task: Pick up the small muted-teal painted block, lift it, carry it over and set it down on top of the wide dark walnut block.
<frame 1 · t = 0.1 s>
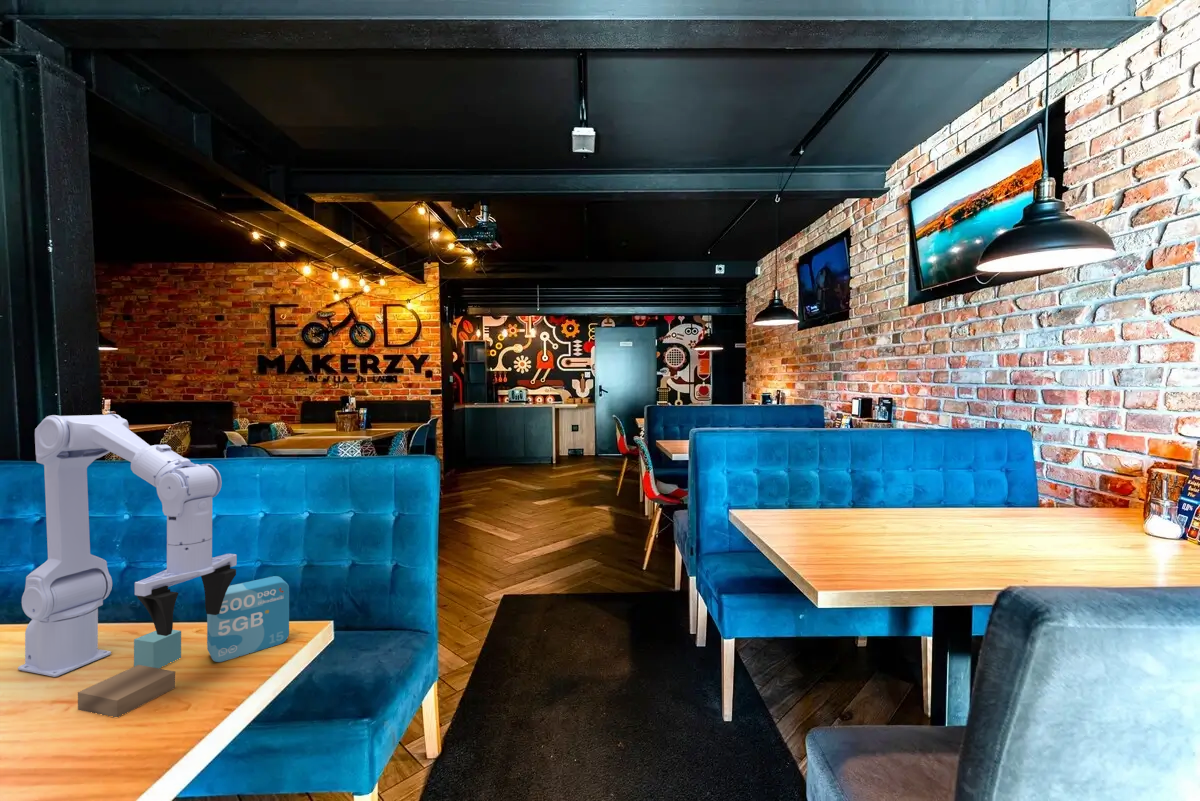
hand: (189, 623, 82), 10 cm above the table, tool pointing down, fingers open, 7 cm apart
teal block: (157, 663, 89), on the table
walnut block: (128, 700, 78), on the table
data package: (249, 650, 94), on the table
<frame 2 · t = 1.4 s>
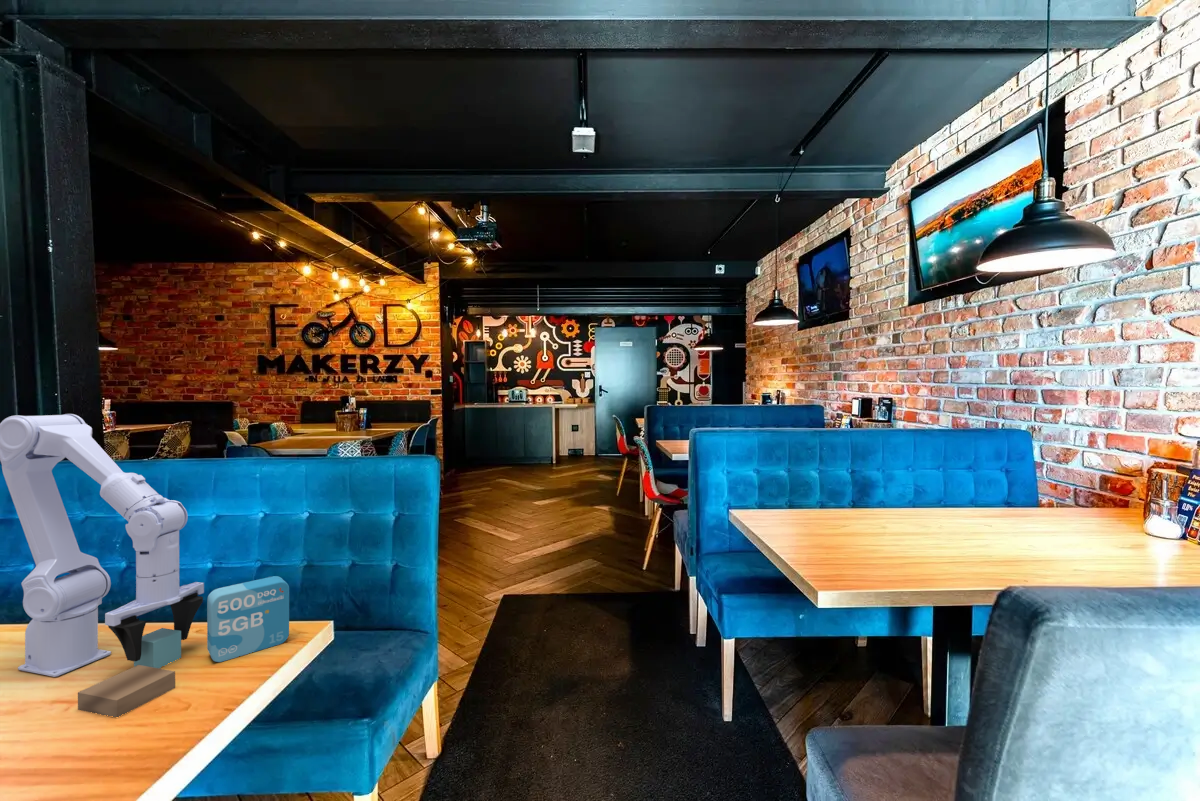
hand: (158, 648, 89), 2 cm above the table, tool pointing down, fingers open, 7 cm apart
nothing on the table moved.
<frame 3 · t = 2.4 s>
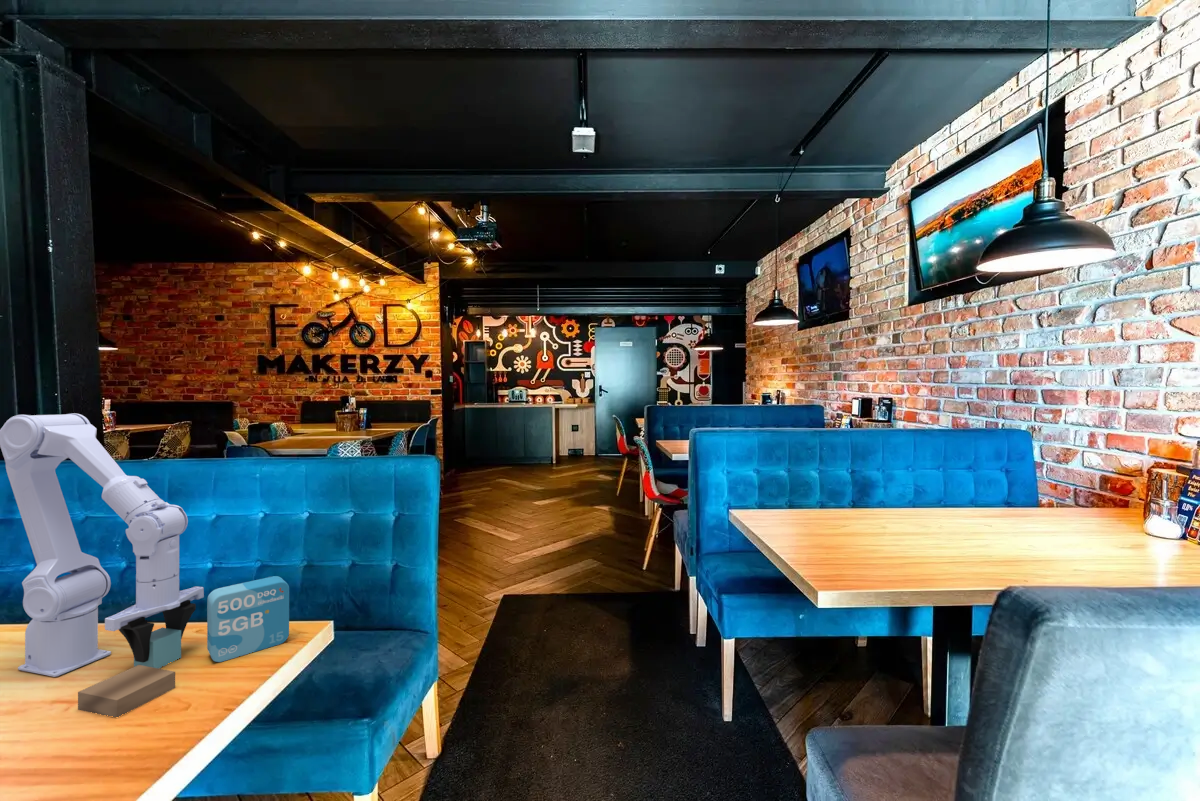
hand: (157, 653, 89), 2 cm above the table, tool pointing down, fingers closed on teal block, 4 cm apart
teal block: (158, 662, 89), on the table, touching gripper
everything else where it was.
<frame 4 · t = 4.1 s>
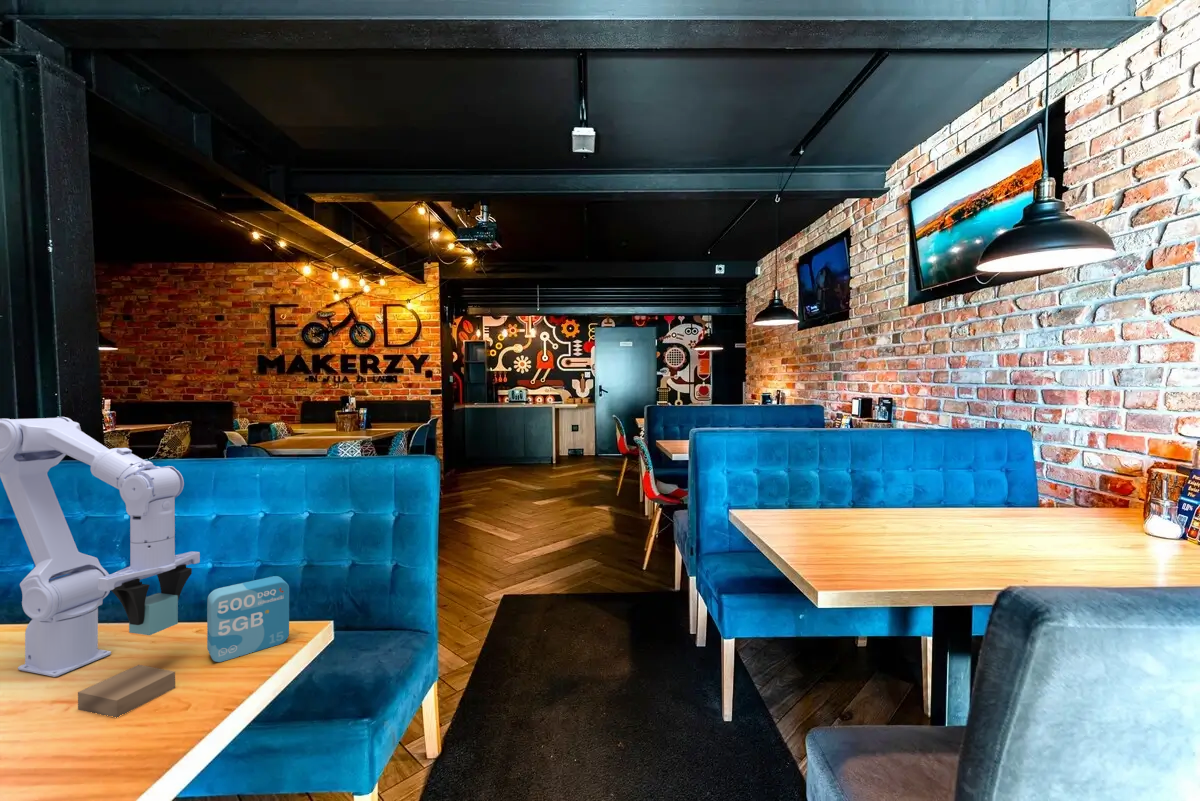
hand: (153, 617, 86), 9 cm above the table, tool pointing down, fingers closed on teal block, 4 cm apart
teal block: (153, 628, 86), point 7 cm above the table, touching gripper
everything else where it was.
when the fingers open (6 cm above the table, at t = 5.6 s): teal block drops 2 cm, resting on walnut block.
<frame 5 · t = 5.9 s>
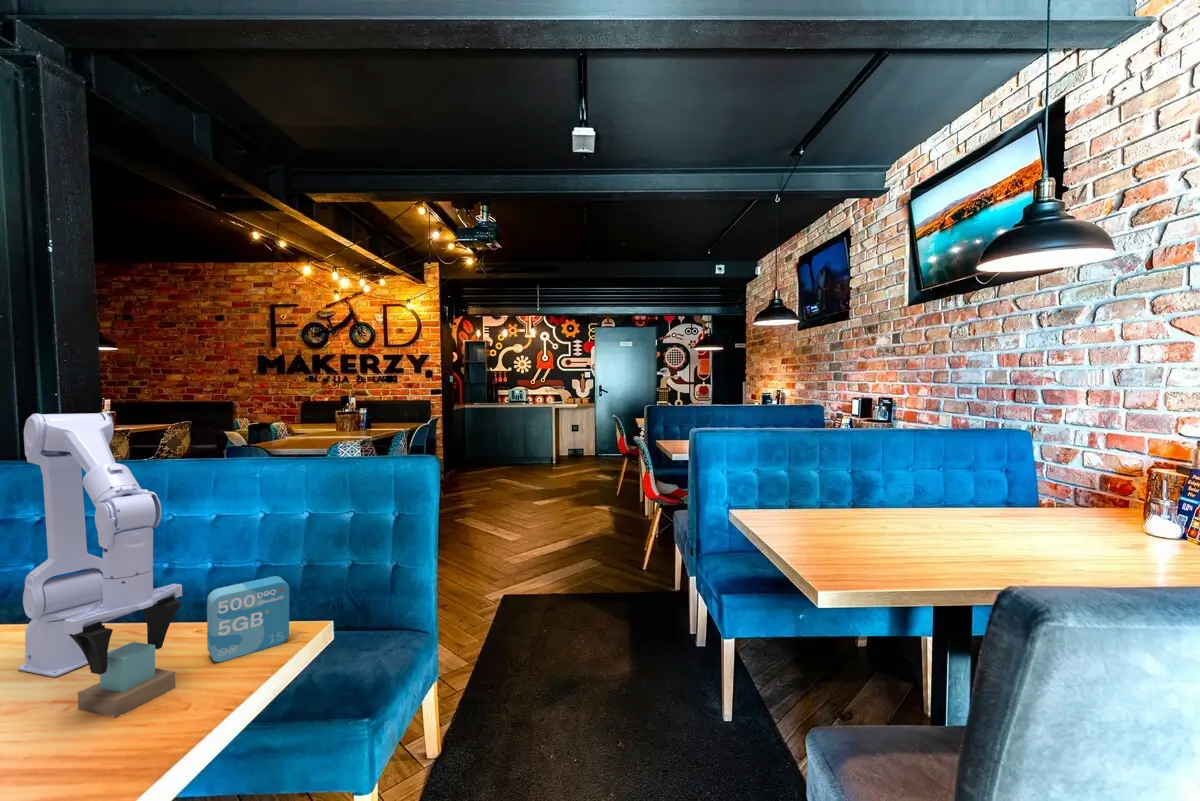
hand: (128, 659, 78), 6 cm above the table, tool pointing down, fingers open, 7 cm apart
teal block: (128, 682, 78), point 3 cm above the table, touching walnut block
walnut block: (128, 700, 78), on the table, touching teal block
everything else where it was.
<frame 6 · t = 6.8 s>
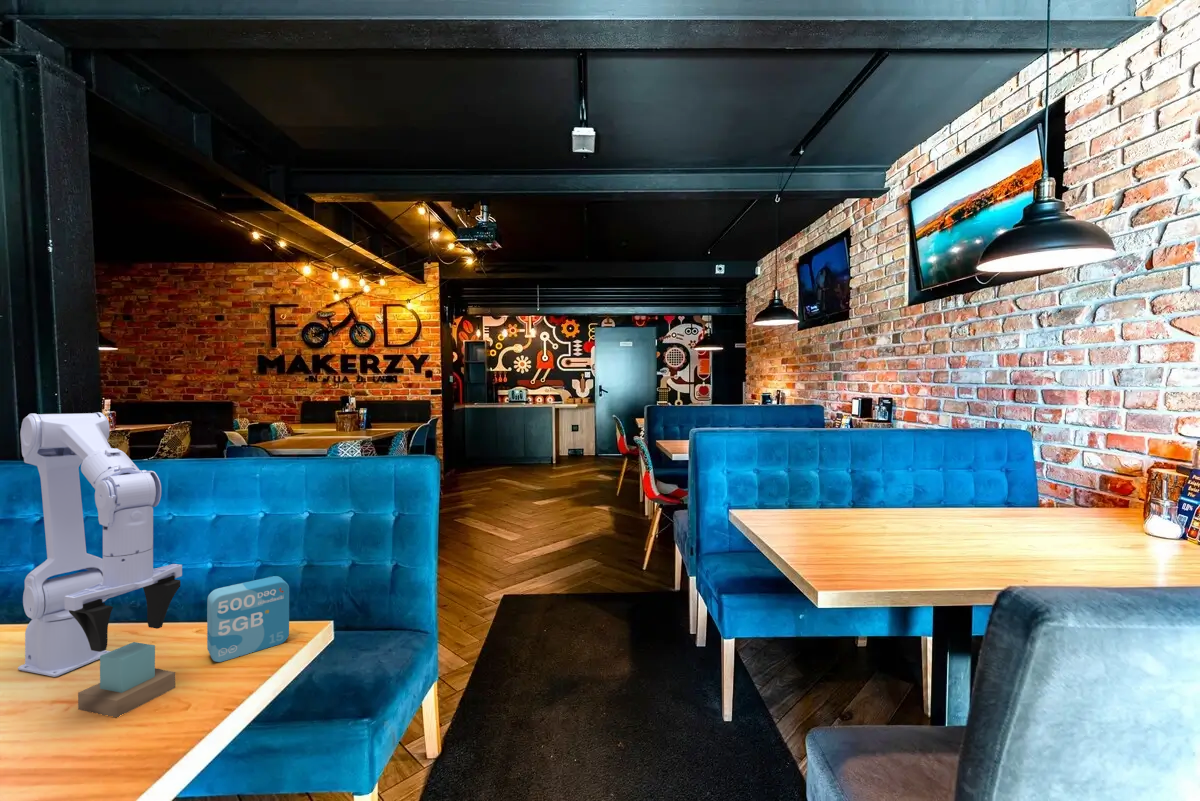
hand: (128, 638, 78), 9 cm above the table, tool pointing down, fingers open, 7 cm apart
nothing on the table moved.
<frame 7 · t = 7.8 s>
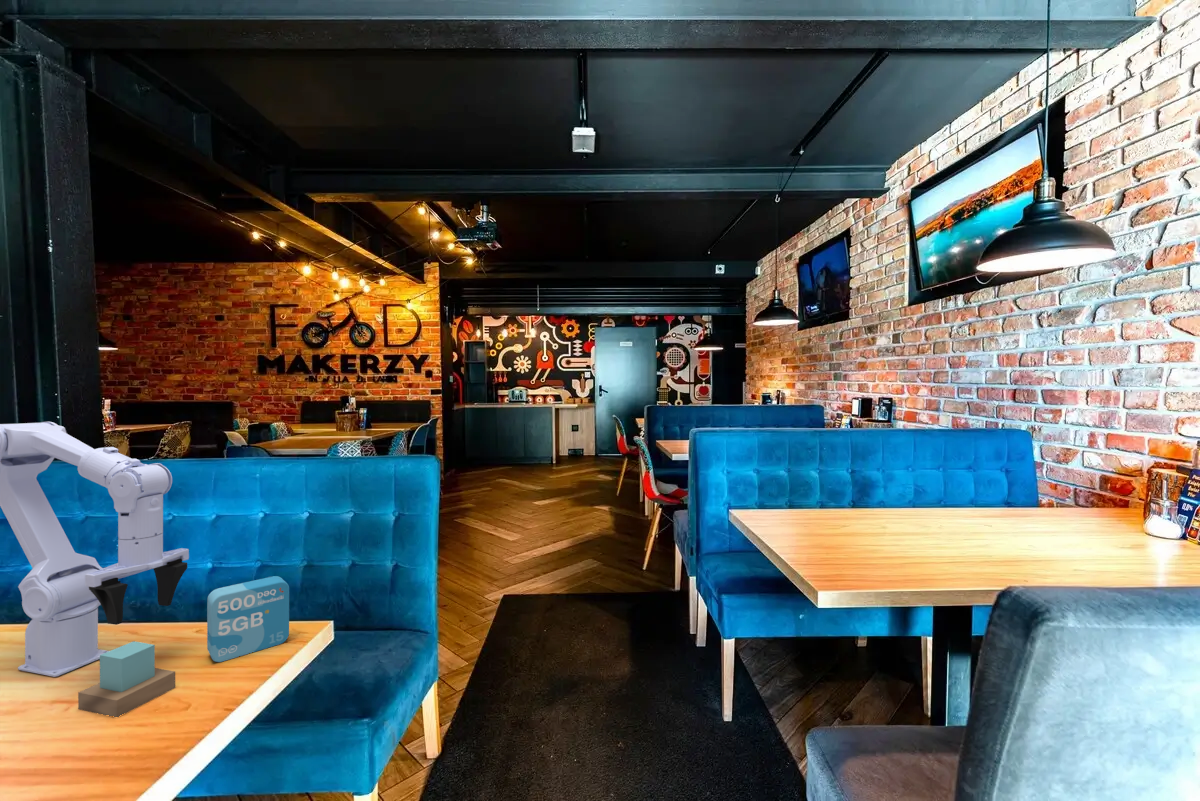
hand: (140, 613, 87), 9 cm above the table, tool pointing down, fingers open, 7 cm apart
teal block: (127, 681, 78), point 3 cm above the table
walnut block: (128, 700, 78), on the table
everything else where it was.
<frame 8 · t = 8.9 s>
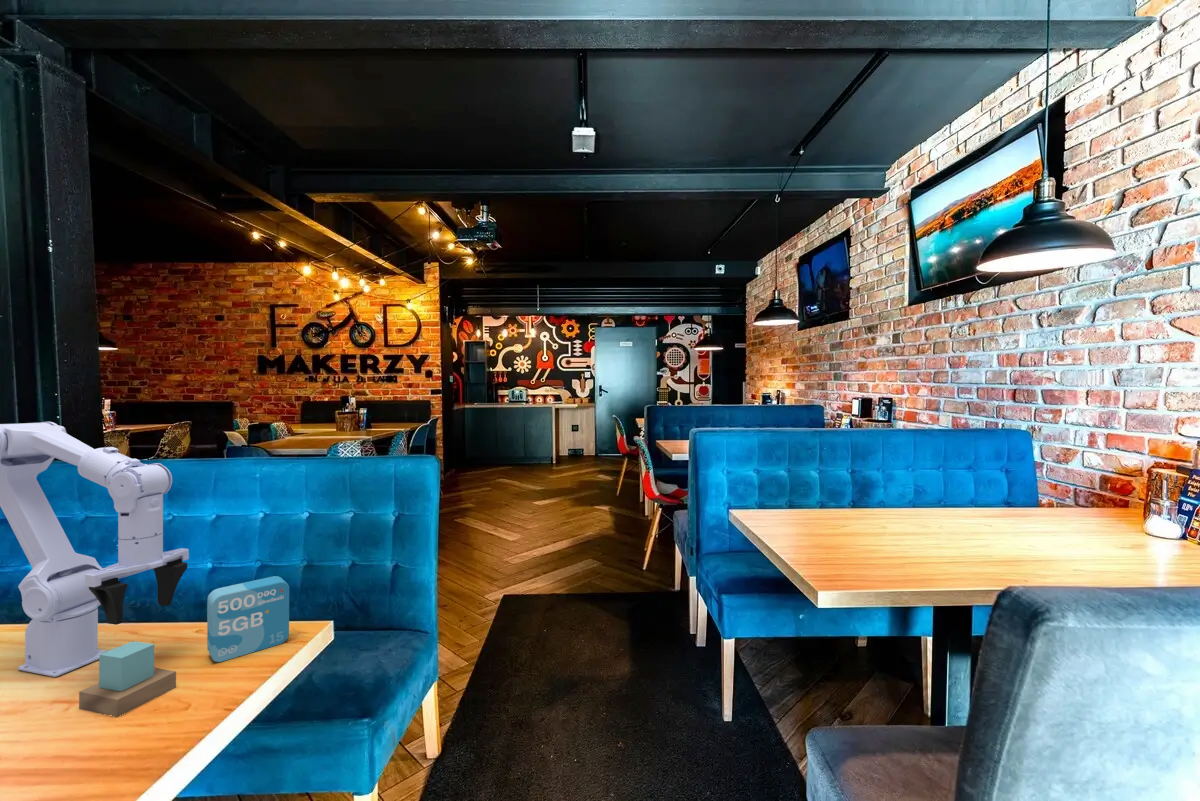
hand: (140, 613, 87), 9 cm above the table, tool pointing down, fingers open, 7 cm apart
nothing on the table moved.
at the end: teal block 0.2 cm off-centre on the walnut block, point 3.1 cm above the walnut block's base; teal block tilted 1°; the gripper is holding nothing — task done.
